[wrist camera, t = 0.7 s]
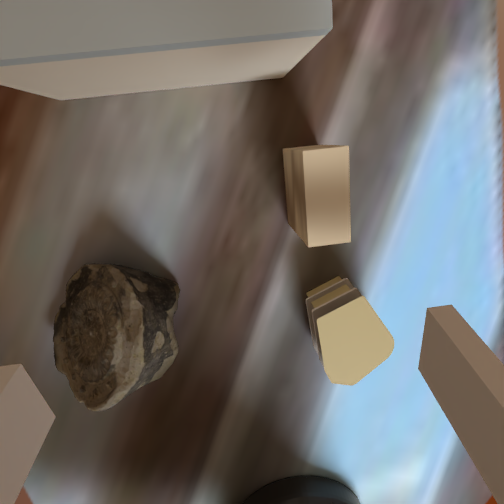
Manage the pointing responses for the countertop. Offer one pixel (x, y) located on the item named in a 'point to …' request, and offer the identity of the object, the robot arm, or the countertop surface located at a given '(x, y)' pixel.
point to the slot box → (152, 43)
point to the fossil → (114, 332)
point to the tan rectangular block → (318, 193)
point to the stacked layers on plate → (346, 331)
